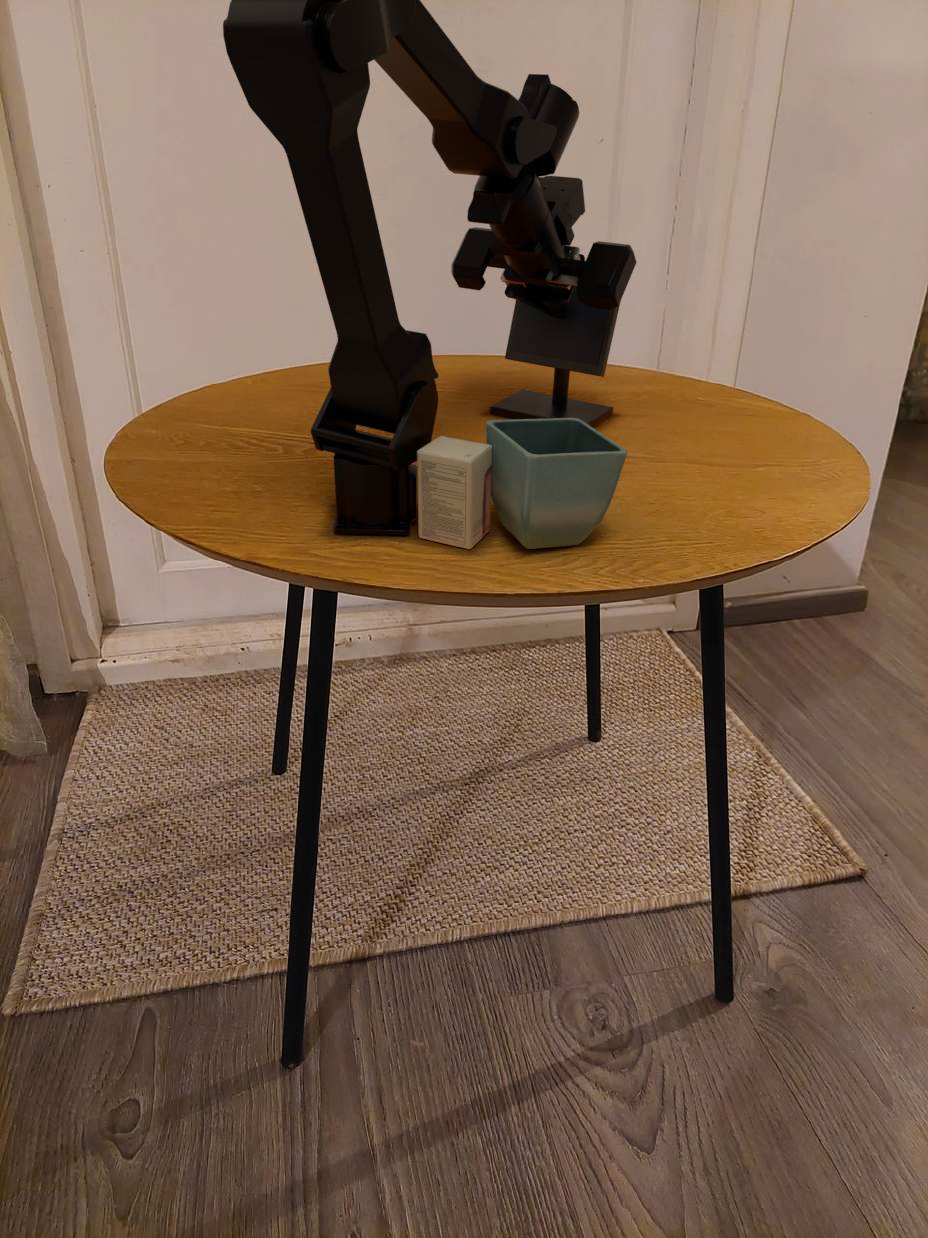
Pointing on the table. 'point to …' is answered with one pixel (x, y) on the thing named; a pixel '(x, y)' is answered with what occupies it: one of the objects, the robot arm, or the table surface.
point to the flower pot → (552, 478)
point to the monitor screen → (563, 337)
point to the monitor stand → (551, 404)
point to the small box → (454, 491)
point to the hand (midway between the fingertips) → (561, 315)
